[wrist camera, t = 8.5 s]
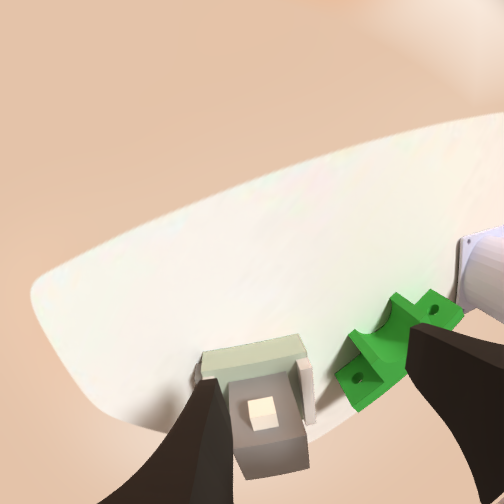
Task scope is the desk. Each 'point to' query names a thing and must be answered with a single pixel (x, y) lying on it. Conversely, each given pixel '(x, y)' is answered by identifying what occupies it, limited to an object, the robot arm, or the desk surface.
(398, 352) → the pipe clamp
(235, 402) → the dark grey block
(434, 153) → the desk surface
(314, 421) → the pale grey-green blocky piece
